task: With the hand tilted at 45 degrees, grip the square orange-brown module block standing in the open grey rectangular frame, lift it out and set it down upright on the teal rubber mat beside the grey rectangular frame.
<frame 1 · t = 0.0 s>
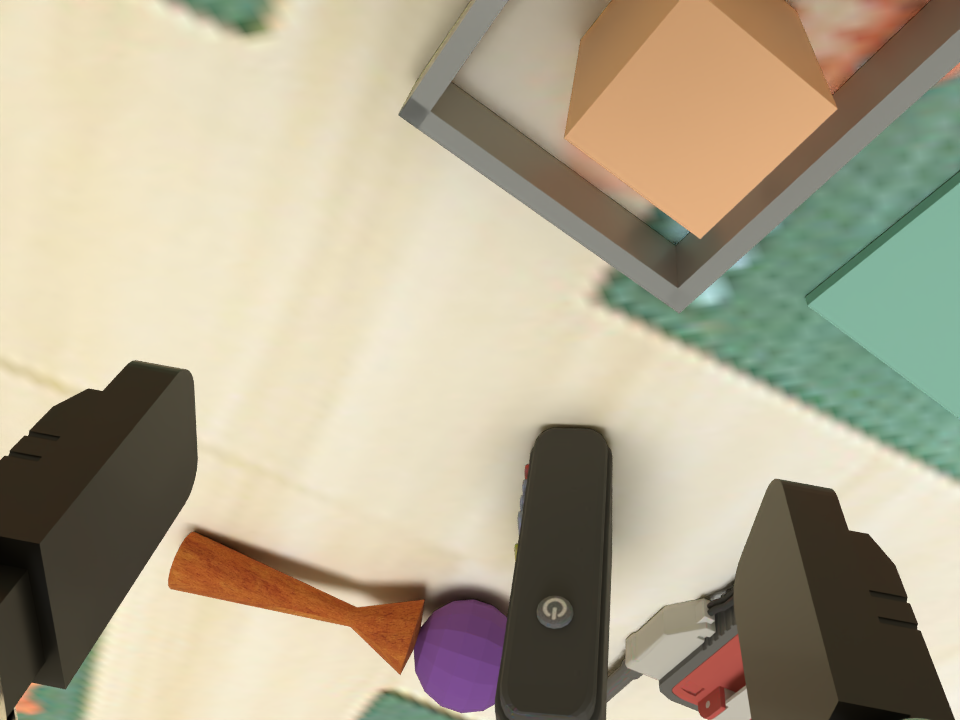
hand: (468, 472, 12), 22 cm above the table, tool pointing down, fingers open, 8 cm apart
grey rectangular frame: (685, 26, 30), on the table
kendama: (360, 577, 52), on the table
card reader: (572, 483, 44), on the table
module: (685, 25, 30), resting in grey rectangular frame
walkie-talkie: (710, 639, 51), on the table
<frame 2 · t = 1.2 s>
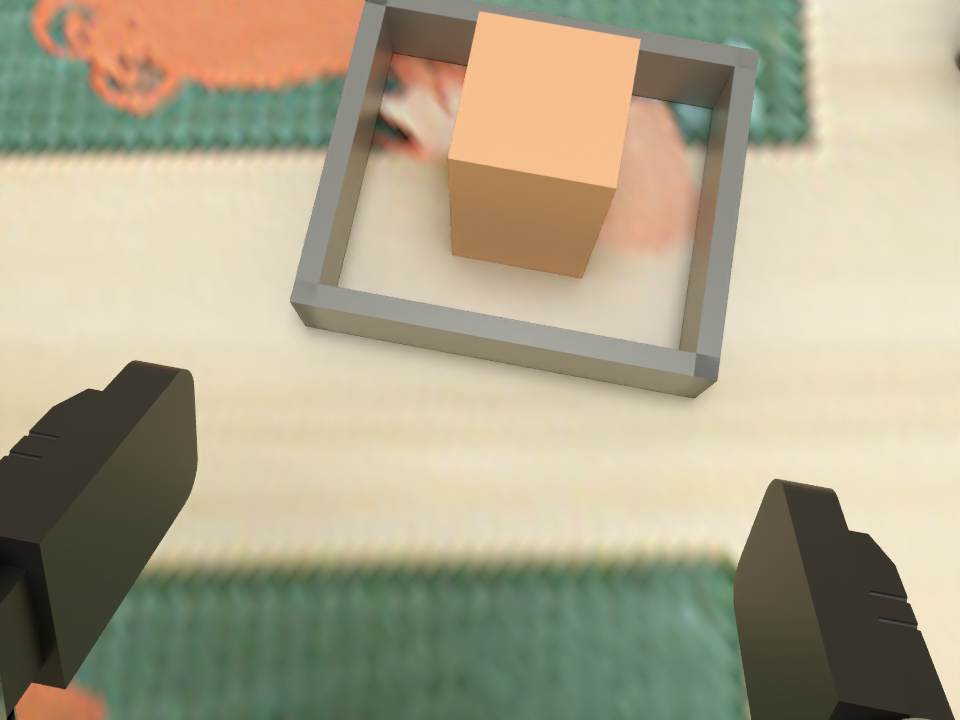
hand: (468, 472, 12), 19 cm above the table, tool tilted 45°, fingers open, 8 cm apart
grey rectangular frame: (528, 205, 34), on the table
module: (528, 206, 34), resting in grey rectangular frame
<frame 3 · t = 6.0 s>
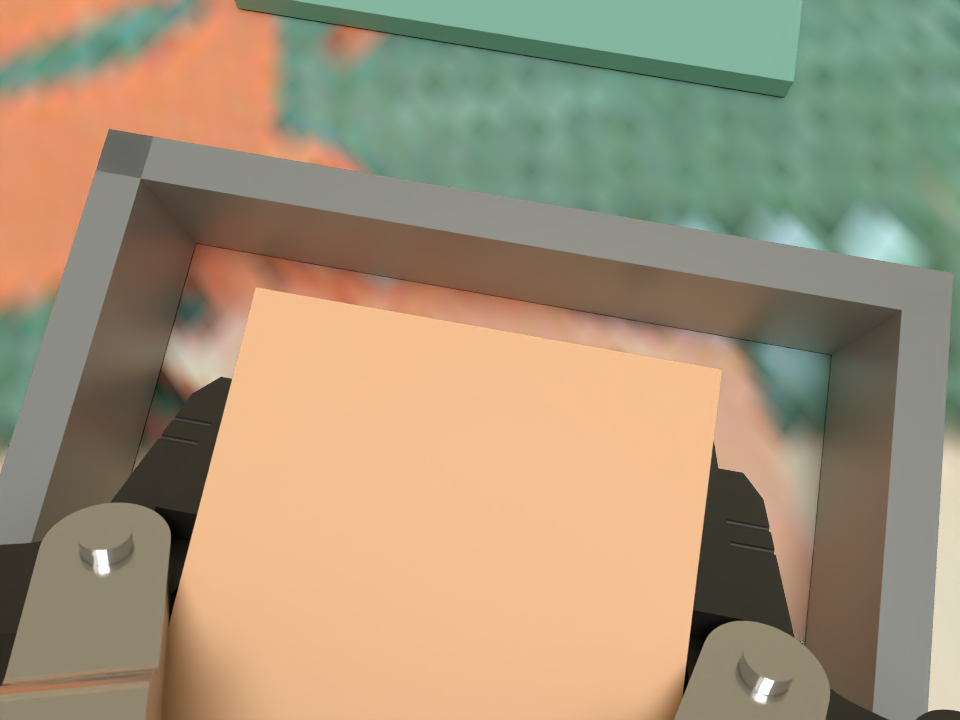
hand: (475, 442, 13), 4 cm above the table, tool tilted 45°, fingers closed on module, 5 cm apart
grey rectangular frame: (457, 574, 16), on the table
module: (460, 572, 16), resting in grey rectangular frame, touching gripper
when the fingers open (6 cm above the table, at t = 14.9 s): module drops 1 cm, resting on mat.
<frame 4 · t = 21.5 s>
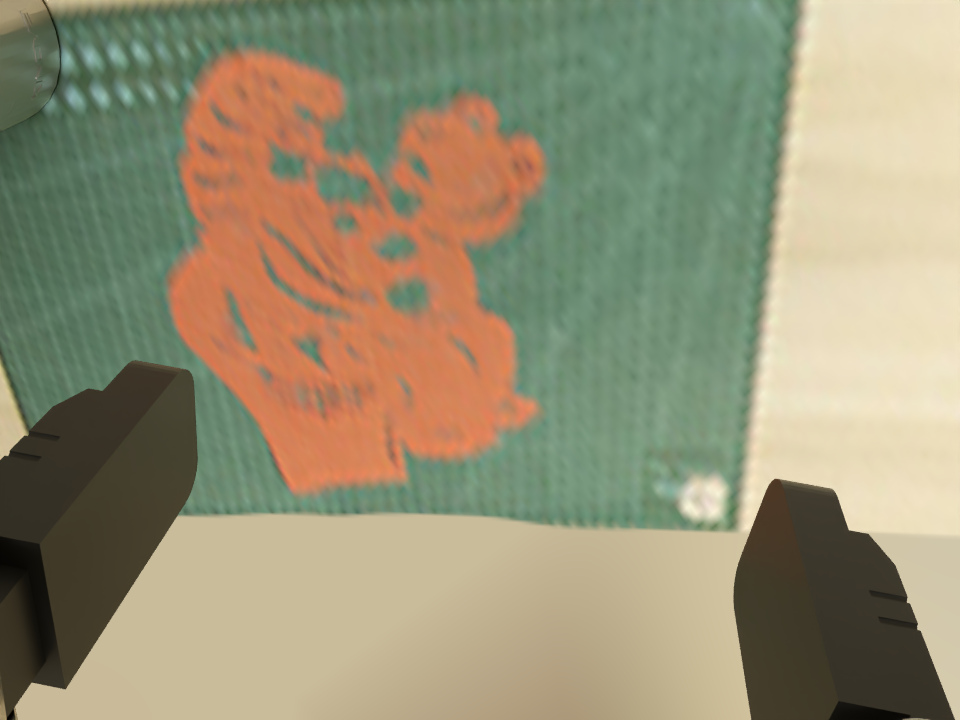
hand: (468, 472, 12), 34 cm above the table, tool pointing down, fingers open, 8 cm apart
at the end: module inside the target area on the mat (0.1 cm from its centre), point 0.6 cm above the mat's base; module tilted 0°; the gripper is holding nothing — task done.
